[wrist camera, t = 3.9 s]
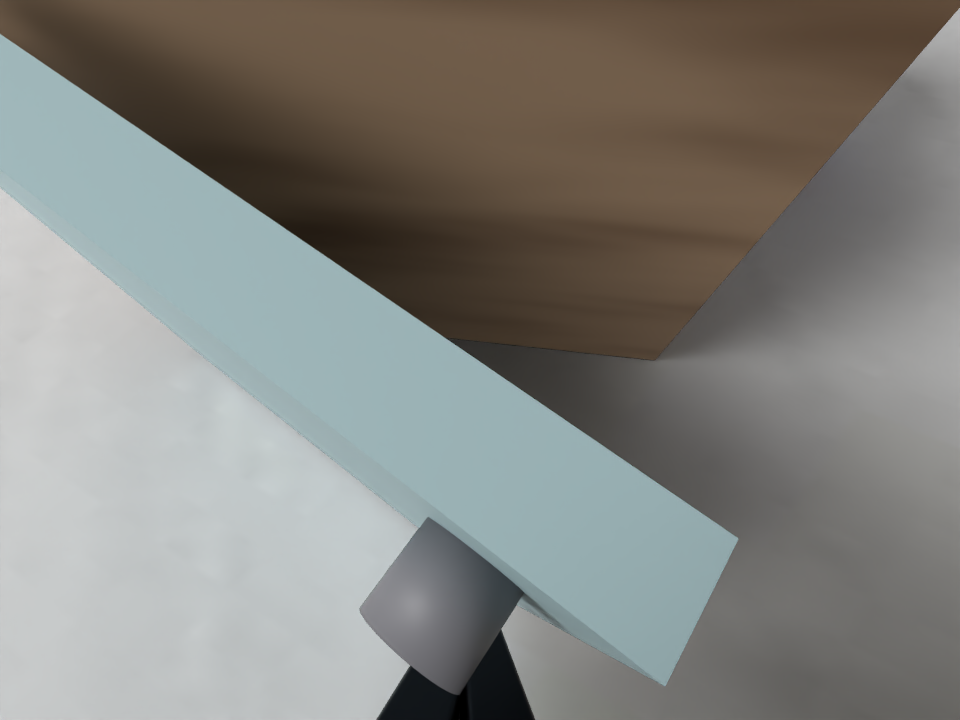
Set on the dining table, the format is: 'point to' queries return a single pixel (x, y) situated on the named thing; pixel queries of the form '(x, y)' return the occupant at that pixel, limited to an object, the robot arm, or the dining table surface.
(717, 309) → the dining table surface
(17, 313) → the dining table surface
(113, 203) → the door
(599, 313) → the cabinet
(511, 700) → the robot arm
